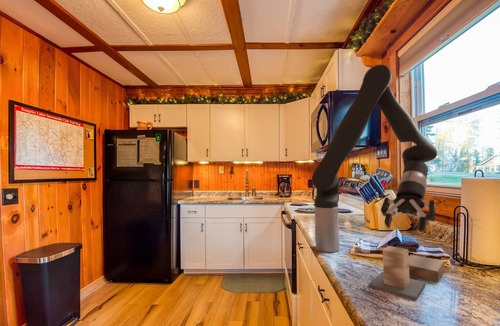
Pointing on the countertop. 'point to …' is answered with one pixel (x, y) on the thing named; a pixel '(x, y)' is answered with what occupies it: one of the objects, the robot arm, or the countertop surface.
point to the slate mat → (409, 292)
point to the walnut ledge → (426, 268)
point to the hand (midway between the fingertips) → (403, 228)
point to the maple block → (396, 266)
